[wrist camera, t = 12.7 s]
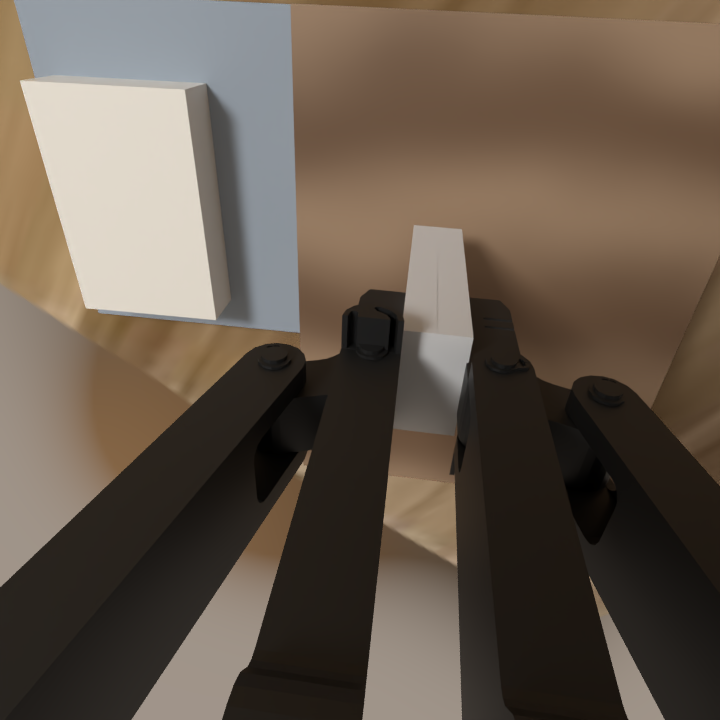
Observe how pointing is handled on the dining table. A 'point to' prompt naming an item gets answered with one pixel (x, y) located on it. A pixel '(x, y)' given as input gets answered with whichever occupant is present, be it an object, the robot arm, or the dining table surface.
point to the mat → (227, 114)
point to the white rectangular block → (135, 191)
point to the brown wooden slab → (510, 180)
